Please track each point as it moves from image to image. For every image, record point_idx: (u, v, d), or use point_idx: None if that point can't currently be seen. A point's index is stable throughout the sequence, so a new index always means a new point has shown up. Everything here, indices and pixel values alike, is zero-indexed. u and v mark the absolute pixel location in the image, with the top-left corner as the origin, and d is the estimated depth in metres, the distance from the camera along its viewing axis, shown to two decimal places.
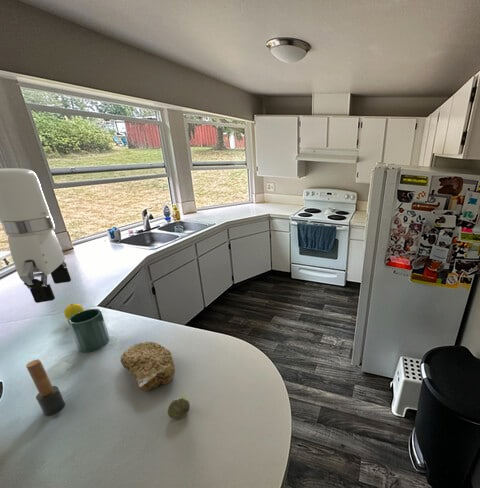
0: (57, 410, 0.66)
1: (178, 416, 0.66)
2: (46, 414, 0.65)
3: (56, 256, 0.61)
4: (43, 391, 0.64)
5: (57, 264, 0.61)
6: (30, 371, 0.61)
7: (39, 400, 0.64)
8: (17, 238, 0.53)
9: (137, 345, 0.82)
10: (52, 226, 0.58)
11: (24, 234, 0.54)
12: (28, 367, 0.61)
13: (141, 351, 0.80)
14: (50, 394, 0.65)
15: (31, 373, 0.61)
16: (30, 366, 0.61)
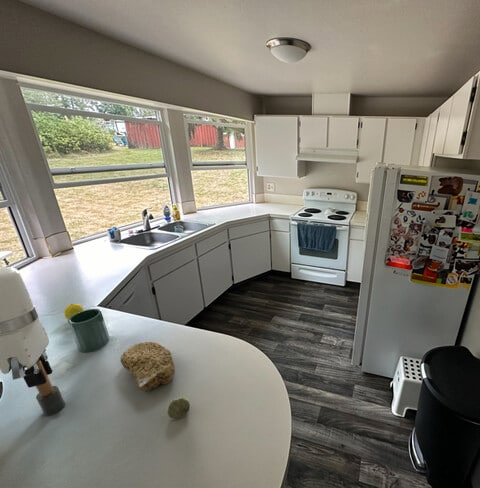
0: (57, 410, 0.66)
1: (178, 416, 0.66)
2: (46, 414, 0.65)
3: (40, 344, 0.62)
4: (43, 391, 0.64)
5: (41, 351, 0.62)
6: None
7: (39, 400, 0.64)
8: None
9: (137, 345, 0.82)
10: (35, 318, 0.59)
11: (7, 333, 0.55)
12: None
13: (141, 351, 0.80)
14: (50, 394, 0.65)
15: None
16: None
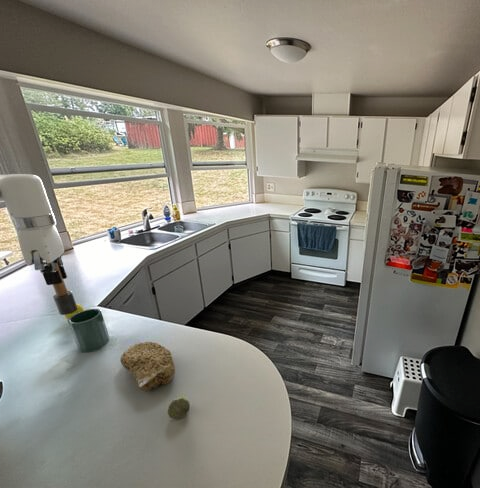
0: (71, 311, 0.76)
1: (178, 416, 0.66)
2: (61, 313, 0.75)
3: (57, 248, 0.72)
4: (59, 291, 0.74)
5: (58, 254, 0.72)
6: None
7: (56, 298, 0.74)
8: (24, 232, 0.64)
9: (137, 345, 0.82)
10: (53, 222, 0.69)
11: (30, 228, 0.65)
12: None
13: (141, 351, 0.80)
14: (65, 295, 0.75)
15: None
16: None
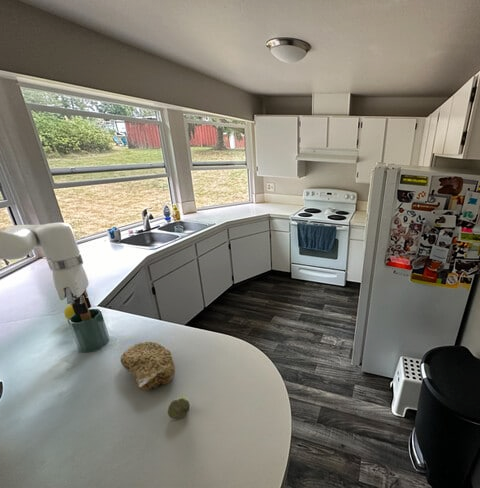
0: None
1: (178, 416, 0.66)
2: None
3: (84, 282, 0.83)
4: (85, 319, 0.85)
5: (84, 288, 0.83)
6: None
7: None
8: (58, 273, 0.75)
9: (137, 345, 0.82)
10: (81, 262, 0.80)
11: (63, 269, 0.76)
12: None
13: (141, 351, 0.80)
14: None
15: None
16: (77, 298, 0.82)
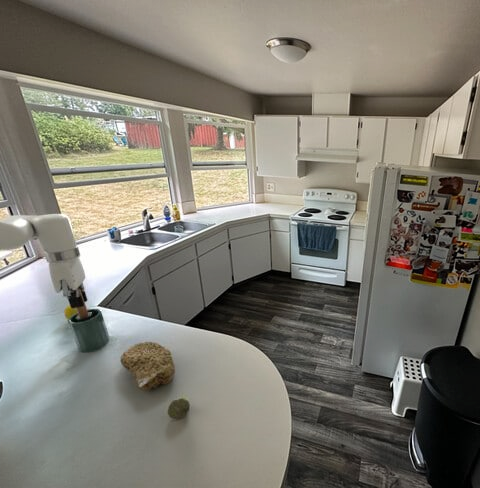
0: None
1: (178, 416, 0.66)
2: None
3: (80, 275, 0.82)
4: (81, 313, 0.84)
5: (81, 281, 0.82)
6: None
7: (78, 319, 0.84)
8: (55, 264, 0.74)
9: (137, 345, 0.82)
10: (78, 254, 0.79)
11: (60, 261, 0.75)
12: None
13: (141, 351, 0.80)
14: (86, 316, 0.85)
15: None
16: (73, 291, 0.81)
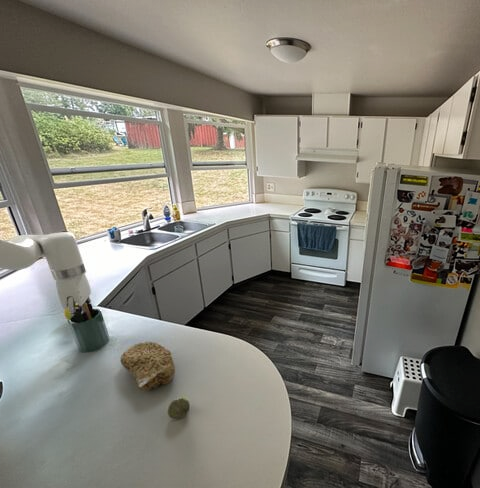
0: None
1: (178, 416, 0.66)
2: None
3: (86, 291, 0.84)
4: None
5: (87, 296, 0.84)
6: None
7: None
8: (62, 282, 0.76)
9: (137, 345, 0.82)
10: (84, 270, 0.81)
11: (66, 278, 0.77)
12: None
13: (141, 351, 0.80)
14: None
15: None
16: None
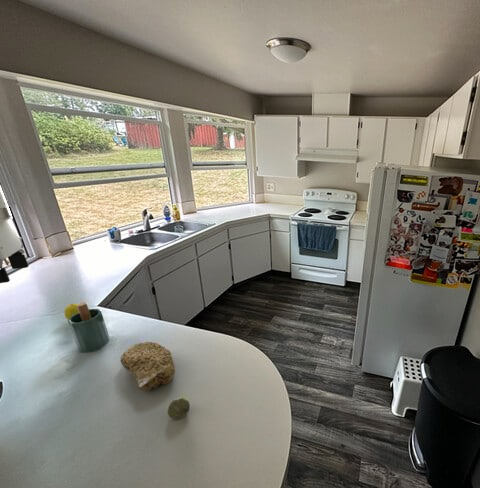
0: None
1: (178, 416, 0.66)
2: None
3: (13, 243, 0.68)
4: None
5: (14, 250, 0.68)
6: (79, 310, 0.84)
7: None
8: None
9: (137, 345, 0.82)
10: (9, 216, 0.65)
11: None
12: (78, 306, 0.83)
13: (141, 351, 0.80)
14: None
15: (80, 311, 0.84)
16: (80, 306, 0.83)
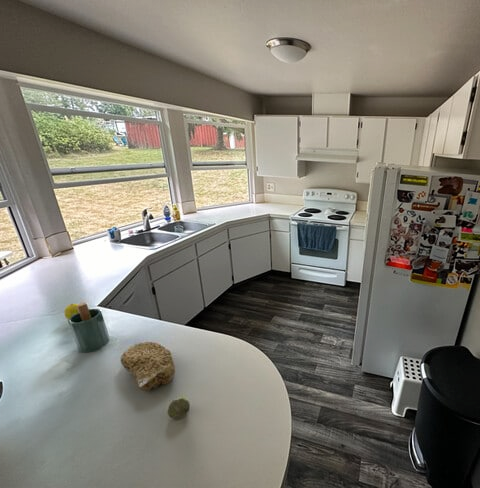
0: None
1: (178, 416, 0.66)
2: None
3: None
4: None
5: None
6: (79, 310, 0.84)
7: None
8: None
9: (137, 345, 0.82)
10: None
11: None
12: (78, 306, 0.83)
13: (141, 351, 0.80)
14: None
15: (80, 311, 0.84)
16: (80, 306, 0.83)
